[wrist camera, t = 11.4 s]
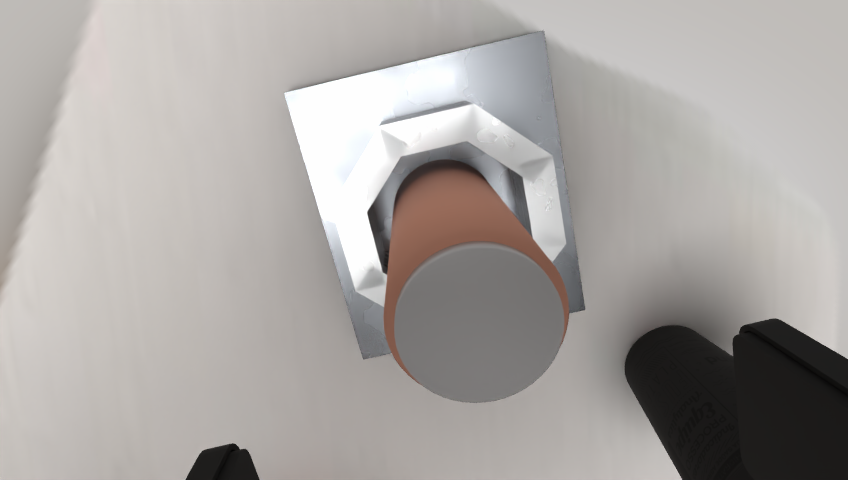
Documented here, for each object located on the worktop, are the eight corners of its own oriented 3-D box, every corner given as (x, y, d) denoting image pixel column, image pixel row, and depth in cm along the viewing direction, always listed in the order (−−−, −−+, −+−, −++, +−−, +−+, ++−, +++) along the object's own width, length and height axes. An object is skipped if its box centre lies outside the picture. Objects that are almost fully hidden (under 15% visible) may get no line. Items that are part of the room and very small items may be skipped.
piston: (503, 246, 26) (587, 390, 14) (406, 268, 26) (407, 428, 14) (485, 148, 25) (561, 215, 13) (382, 172, 25) (360, 261, 13)
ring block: (578, 302, 28) (606, 336, 24) (364, 350, 29) (358, 391, 25) (538, 32, 24) (563, 23, 20) (288, 92, 24) (267, 94, 21)
